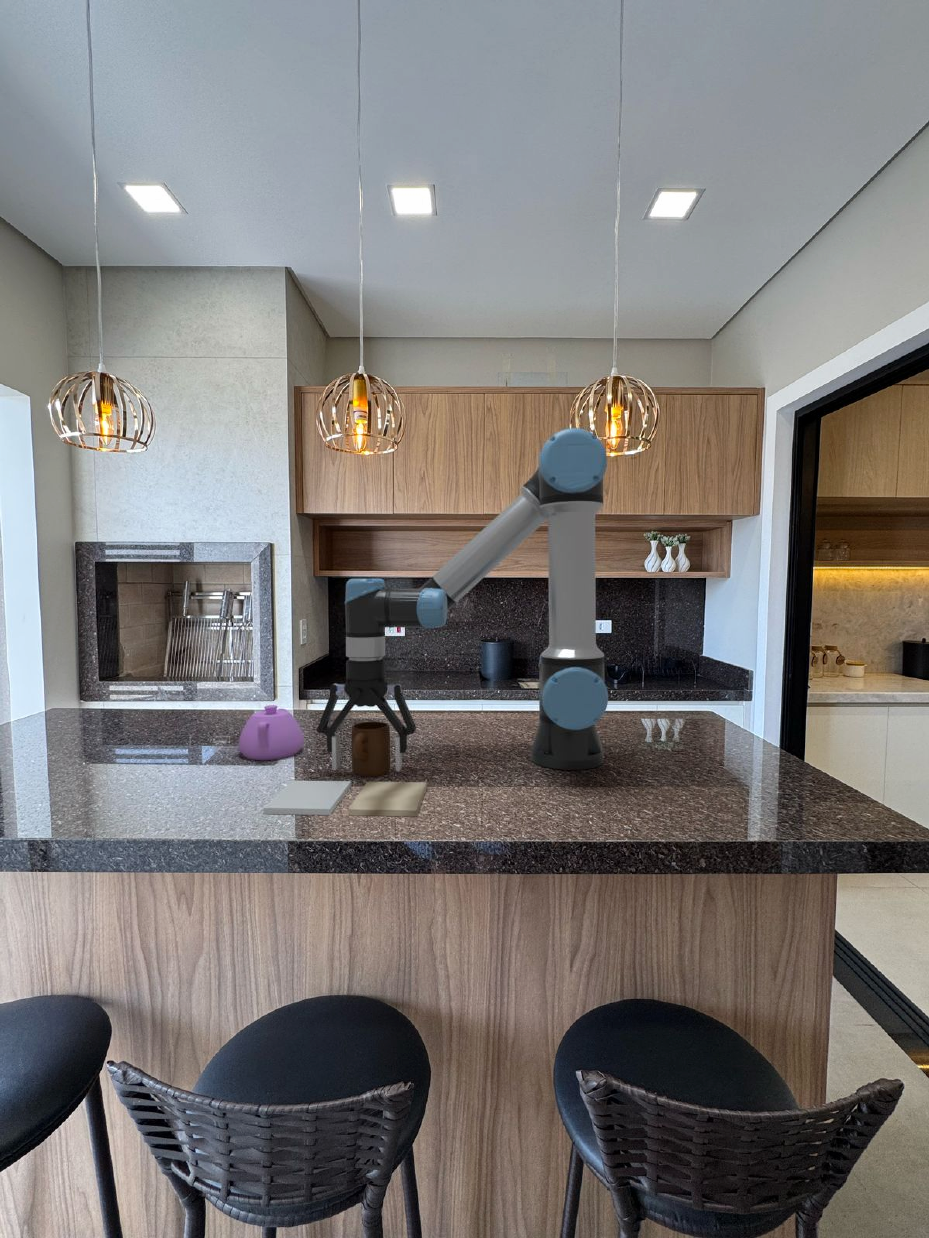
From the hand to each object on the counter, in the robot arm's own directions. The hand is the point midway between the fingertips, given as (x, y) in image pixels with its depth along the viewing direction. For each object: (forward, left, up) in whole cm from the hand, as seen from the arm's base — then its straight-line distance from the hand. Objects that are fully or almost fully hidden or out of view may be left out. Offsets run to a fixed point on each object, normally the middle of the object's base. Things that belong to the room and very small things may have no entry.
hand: (367, 768), depth 119 cm
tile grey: (+7, +14, -1) cm, 16 cm away
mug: (0, 0, -1) cm, 1 cm away
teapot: (+25, -16, -2) cm, 30 cm away
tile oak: (-7, +14, -1) cm, 16 cm away
